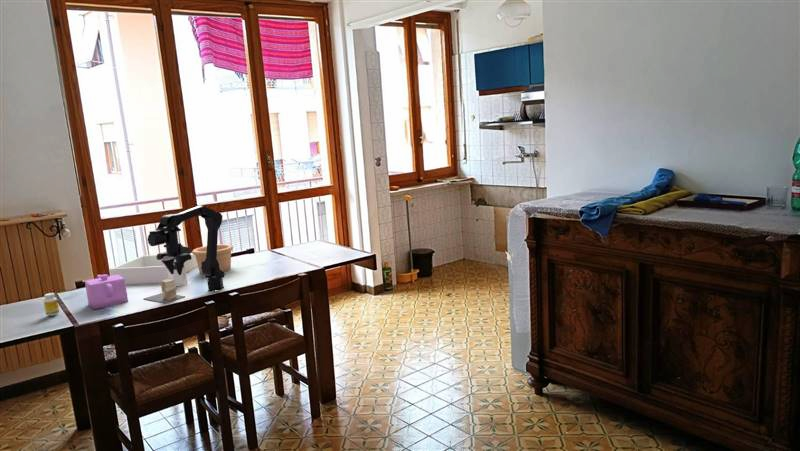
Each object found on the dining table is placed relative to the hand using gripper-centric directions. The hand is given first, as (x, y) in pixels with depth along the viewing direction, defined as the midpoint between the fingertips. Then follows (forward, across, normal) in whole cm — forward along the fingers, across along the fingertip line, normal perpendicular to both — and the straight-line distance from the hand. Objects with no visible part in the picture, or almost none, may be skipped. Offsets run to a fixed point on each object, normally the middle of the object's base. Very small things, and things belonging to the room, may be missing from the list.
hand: (176, 274), depth 272 cm
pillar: (+13, +8, 0) cm, 15 cm away
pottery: (+13, +32, -47) cm, 58 cm away
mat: (+13, +13, 0) cm, 18 cm away
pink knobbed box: (+13, +36, +15) cm, 41 cm away
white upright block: (+13, +29, -20) cm, 37 cm away
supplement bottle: (+13, +44, +37) cm, 59 cm away
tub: (+13, +61, -29) cm, 68 cm away
